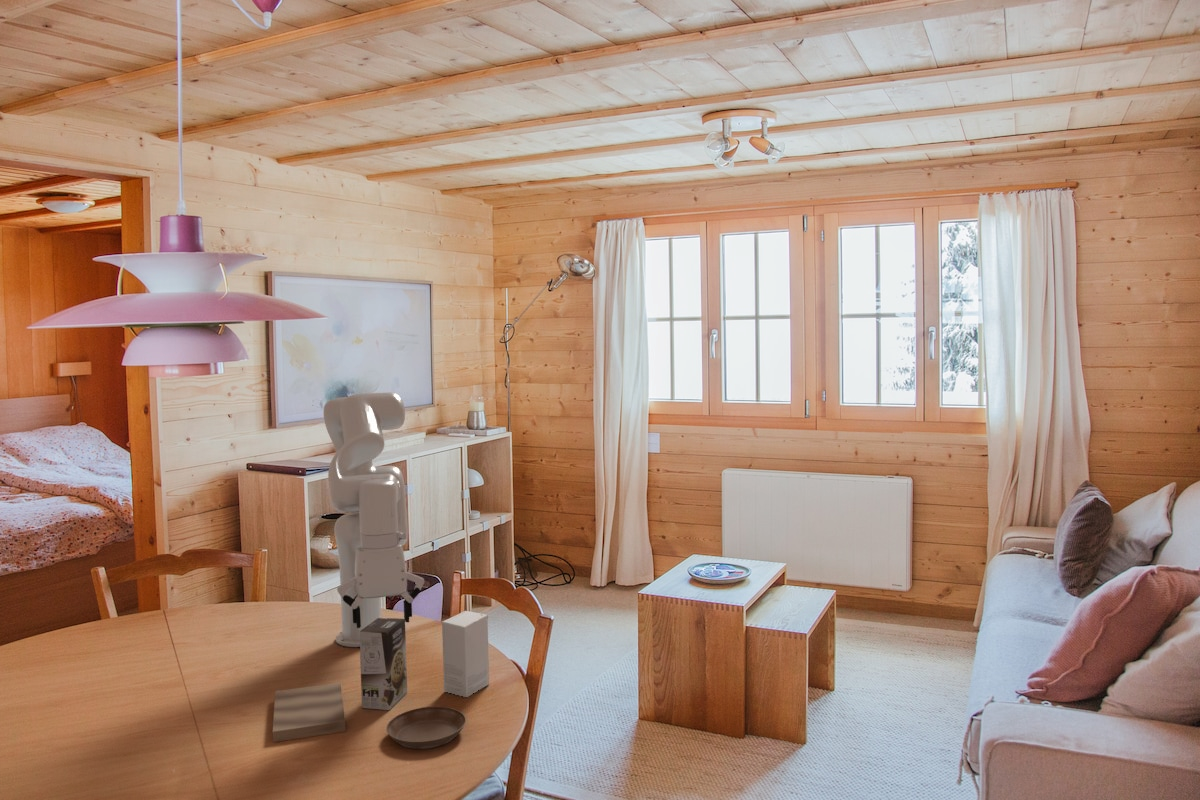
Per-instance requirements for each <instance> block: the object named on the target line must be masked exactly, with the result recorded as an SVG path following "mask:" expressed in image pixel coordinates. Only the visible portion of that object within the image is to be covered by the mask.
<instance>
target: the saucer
mask: <svg viewBox="0 0 1200 800" xmlns="http://www.w3.org/2000/svg"><path fill="white" fill-rule="evenodd" d="M466 723H467V717H466V715H465V714H464V713H463V712H461V711H460V710H458V709H455V708H453V707H447V706H425V707H418V708H415V709H410V710H407V711H404V712H402V713H399V714H398V715H396V716H394V717H393V718H392V719H391V720H389V722H388V723H387V725H386V733H387V734H388V736H389V737H390V738H391V739H392V740H393V741H395V743H397V744H399V745H401V746H402V747H404V748H408V749H413V750H415V749H416V750H426V749H433V748H437V747H441V746H444V745H446V744H447V743H450V742H451V741H453V739H454V738H455V737H457V736H458V735H459V733H461V732H462V730H463V729H464V727H465V725H466Z"/></svg>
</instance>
